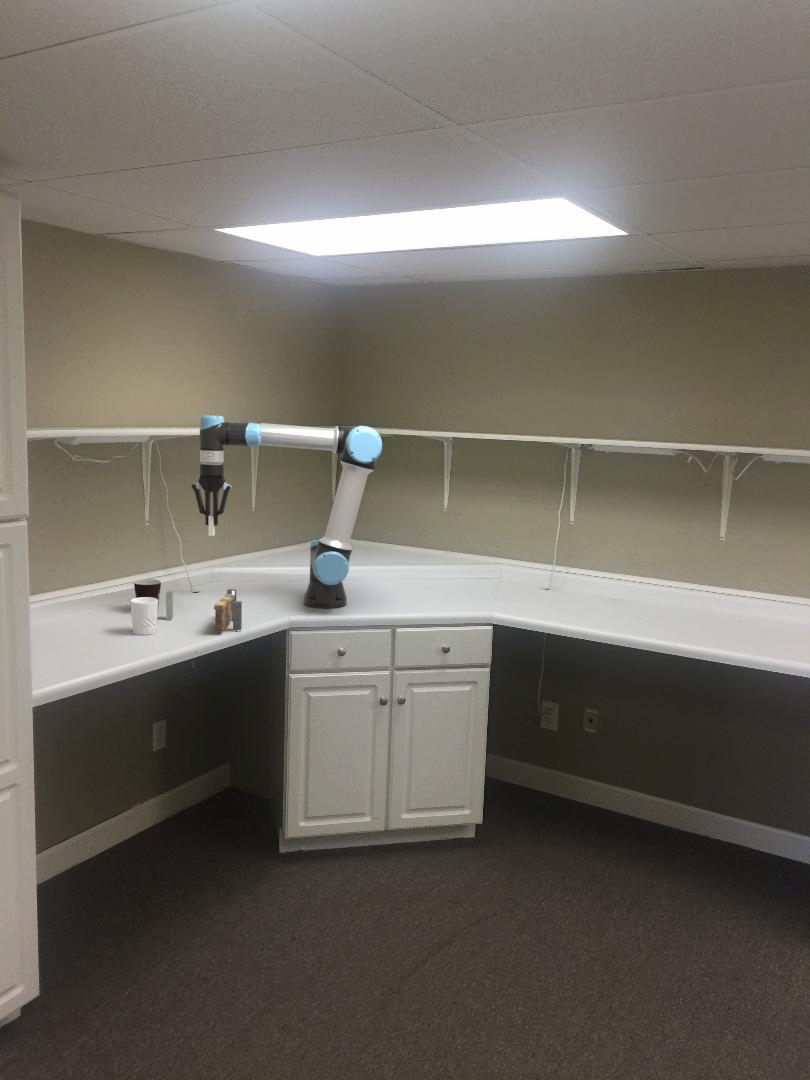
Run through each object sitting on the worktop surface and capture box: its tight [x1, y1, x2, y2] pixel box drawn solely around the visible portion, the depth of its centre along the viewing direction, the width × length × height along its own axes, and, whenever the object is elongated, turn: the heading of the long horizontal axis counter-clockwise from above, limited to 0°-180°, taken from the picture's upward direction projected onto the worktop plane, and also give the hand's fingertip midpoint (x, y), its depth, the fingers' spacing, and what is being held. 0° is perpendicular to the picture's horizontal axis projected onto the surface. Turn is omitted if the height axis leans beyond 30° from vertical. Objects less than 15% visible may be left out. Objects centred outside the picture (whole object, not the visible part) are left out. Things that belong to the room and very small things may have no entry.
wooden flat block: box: [213, 593, 234, 633], centre depth 268 cm, size 16×2×8 cm, turn 179°
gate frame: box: [165, 588, 243, 631], centre depth 272 cm, size 25×15×10 cm, turn 95°
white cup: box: [130, 597, 159, 636], centre depth 260 cm, size 8×8×10 cm
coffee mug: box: [133, 578, 162, 605], centre depth 286 cm, size 12×9×10 cm
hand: (211, 535), depth 284 cm, fingers closed
